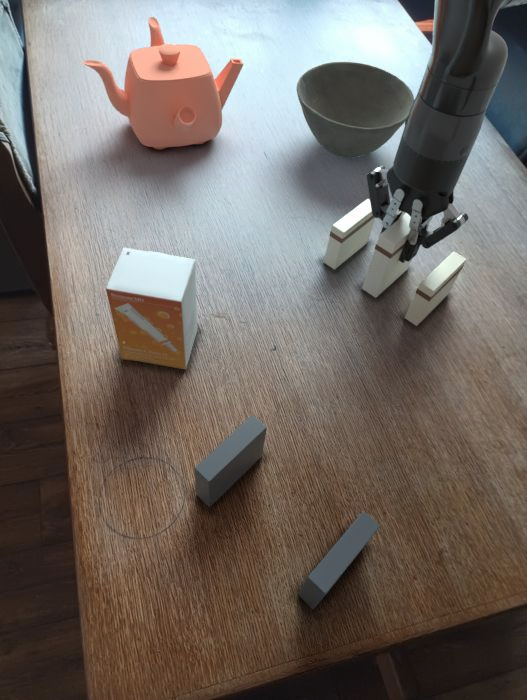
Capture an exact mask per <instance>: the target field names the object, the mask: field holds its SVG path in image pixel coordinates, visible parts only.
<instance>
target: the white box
mask: <svg viewBox="0 0 527 700" xmlns="http://www.w3.org/2000/svg"><path fill="white" fill-rule="evenodd" d="M410 219H411V217H410V216H409V215H408V214H407V213H404V214H402V216H401V218H400V219H399V220H397V221H396V222H395V223H394V224H392V225H391V226H390V227H389V228H388V229H386V230H385V231H384V232H383V233H381V232H380V233H381V234H379V236H378V239H377V241H376V244H375V246H374V251H373V254H372V257H371V260H370V263H369V265H368V270H367V272H366V276H365V279H364V281H363V284H362V288H361V289H362V290H363V291H364V292H366V293H367V294H369V295H371V296H372V297H374V298H375V299H376V298H377V297H379V296H380V295H381V294H382V293H383V292H384V291H385V290H386V289H387V288H389V287H390V286H391V285H392V284H393V283H394V282H395V281H396V280H398V279H399V278H400V277H401V276H402V275H403V274H404V273H405V272H406V271H407V270H409V267H410V265H411V262H412V260H413V258H412V259H411V260H410V261H409V262H408V261H405V262H404V263H402V262H400V261H399V257H400V255H401V252H402V250H403V248H404V245H405V242H406V241H407V240H408V236H409V232H410V228H409V224H410Z"/></svg>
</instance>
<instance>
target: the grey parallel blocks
mask: <svg viewBox="0 0 527 700" xmlns="http://www.w3.org/2000/svg"><path fill="white" fill-rule="evenodd" d="M267 429H268V427H267V425H265V424H264V423H263V422H261V421H260V420H259V419H258V418H257V417H256V416H255V415H253V414H252V415H250V417H248V418H247V420H245V421H244V422H243V423H241V425H240V426H238V428H237V429H236V430H234V431H233V432H232V433H231V434H230V435H229V436H228V437H227V438H226V439H224V440H223V441H222V442H221V443H220V444H219V445H218V446H217V447H216V448H215V449H213V450H212V451H211V452H210V453H209V454H208V455H207V456H206V457H205V458H203V459H202V460H201V461H200V462H198V464H197V465H196V466H195V467H194V480H195V494H196V496H197V497H198V498H199V499H200V500H201V501H202V502H203V503H204V504H205V505H206V506H207V507H208V508H211V507H212V506H213V505H214V504H215V503H216V502H217V501H218V500H219V499H220V498H221V497H222V496H223V495H224V494H225V493H226V492H228V490H229V489H231V487H232V486H233V485H234V484H236V482H238V480H240V478H242V477H243V476H244V474H246V472H248V471H249V470H250V469H251V468H252V467H253V466H254V465H255V464H256V463H257V462H258V461H259V460H260V459H261V458H262V456H263V452H264V446H265V441H266V435H267ZM380 528H381V525H380V524H379V523H378V522H377V521H376V520H374V518H372V517H371V516H370V515H369V514H368V513H366V511H364V510H363V511H361V513H360V514H359V515H358V516H357V517H356V518H355V520H354V521H353V522H352V523H351V525H350V526H348V528H347V530H345V532H344V533H342V535H341V536H340V537H339V538H338V540H337V541H336V542H335V544H334V545H333V546H332V547H331V548H330V549H329V551H328V552H327V553H326V554H325V556H324V557H323V558H322V559H321V561H320V562H319V563H318V564H317V565H316V566H315V568H314V569H313V570H312V571H311V573H309V575H308V576H307V578H306V579H305V580H304V583H303V584H302V586H301V588H300V589H299V591H298V592H297V595H298V597H300V598H301V599H302V600H303V601H304V602H305V603H306V604H307V605H308V606H309V607H310V608H311V609H312V610H315V609H316V608H317V606H318V605H319V604H320V602H321V601H322V600H323V599H324V598H325V597H326V596H327V594H328V593H329V592H330V591H331V589H332V588H333V586H334V585H335V584H336V583H337V582H338V580H339V579H340V578H341V576H343V574H344V573H345V572H346V571H347V569H348V567H350V565H351V564H352V563H353V562H354V561H355V559H356V558H357V557H358V555H359V554H360V553H361V552H362V550H363V549H364V548H365V546H366V545H367V544H368V543H369V541H370V540H371V539H372V538H373V536H374V535H375V534H376V533H377V531H379V530H380Z"/></svg>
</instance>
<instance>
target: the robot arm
mask: <svg viewBox="0 0 527 700" xmlns="http://www.w3.org/2000/svg"><path fill="white" fill-rule="evenodd" d="M525 4H527V0H434V12H433V24H432V46H431V53H430V55H429V58H428V60H427V63H426V66H425V70H424V72H423V76H422V79H421V82H420V85H419V88H418V91H417V94H416V96H415V97H414V102H413V104H412V106H411V109H410V112H409V115H408V117H407V119H406V121H405V122H404V128H403V130H402V135H401V138H400V141H399V144H398V147H397V149H396V153H395V158H394V160H393V165H392V166H391V167H390V168H386V167H385V166H384V165H383V164H379V165H378V166H376V167H375V168H373V169H372V170H370V172H368V173H367V174H366V175H365V176H366V183H367V189H368V196H369V200H370V203H371V209H372V214H373V216H374V217H375V219H378V218H379V219H380V220H381V226H382V228H381V231H380V234H381V233H383V232H384V231H385V230H386V229H388V228H389V227H390V226H391V225H392V224H394V223H395V222H396V221H397V220H399V219H400V218H401V217H402V216H403V215H404V214H406V213H407V214H408V215H409V216H410V217H411V219H410V224H409V228H410V232H409V236H408V240H407V241H406V242H405V245H404V248H403V250H402V252H401V255H400V257H399V261H400V262H402V263H404V262H405V261H408V262H409V261H410V260H411V259H412V260H413V259H414V258H415V257H416V256H417V254H418V252H419V250H420V247H421V246H422V248H424V249H425V250H427V249H430V248H431V247H433V246H435V245H436V244H437V243H439V242H441V241H442V240H443V239H445V238H447V237H449V236H450V235H451V234H453V233H455V232H457V231H458V229H460V228H461V227H462V226H463V225H464V224H465V223H466V222H467V221H468V220H469V215H468V214H467V213H466V212H465V211H462V212H459V211H458V210H457V208H456V207H455V206H454V204H453V203H454V201H455V200H454V199H455V197H454V193H455V188H456V186H457V184H458V182H459V180H460V177H461V175H462V174H463V173H462V172H463V170H464V169H465V168H464V167H465V166H466V164H467V161H468V160H469V158H470V154H471V153H472V149H473V148H474V145H475V143H476V141H477V138H478V137H479V134H480V131H481V129H482V126H483V123H484V119H485V117H486V116H485V115H486V113H487V110H488V106H489V105H490V102H491V100H492V98H493V96H494V94H495V91H496V88H497V86H498V85H499V82H500V80H501V77H502V75H503V72H504V70H505V67H506V64H507V60H508V56H509V52H508V50H509V49H508V45H507V43H506V41H505V40H504V38H503V36H501V35H500V34H499V33H497V32H495V31H494V30H492V29H493V25H494V21H495V18H496V16H497V14H498V12H499V10H504V9H507V8H512V7H516V6H521V5H525ZM390 195H391V197H390ZM391 198H392V199H391ZM441 213H443V217H442V218H441V220H440V222H441V223H440V226H438V227H437V228H435V229H434V230H433V231H429V230H428V229H429V226H430V223H431V221H432V219H433V217H434V216H437V215H438V214H441ZM380 234H379V235H380ZM412 260H411V261H412Z"/></svg>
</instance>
